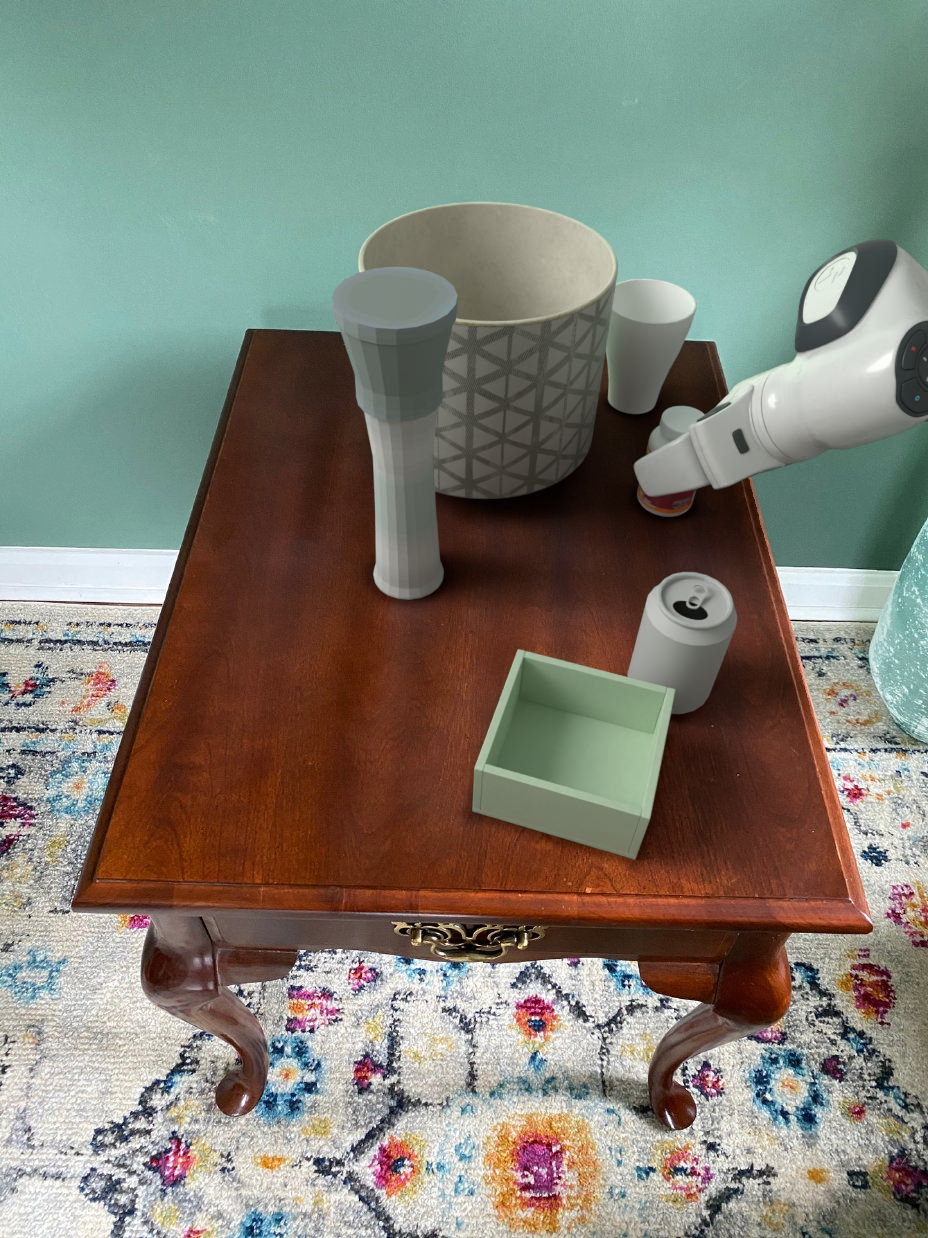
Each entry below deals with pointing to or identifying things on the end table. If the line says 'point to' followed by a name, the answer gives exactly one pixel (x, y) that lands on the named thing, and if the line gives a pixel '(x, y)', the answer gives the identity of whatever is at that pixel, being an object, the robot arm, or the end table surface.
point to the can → (684, 637)
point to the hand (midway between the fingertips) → (670, 454)
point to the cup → (645, 340)
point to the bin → (574, 753)
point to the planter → (510, 339)
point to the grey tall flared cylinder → (400, 410)
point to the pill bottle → (670, 428)
